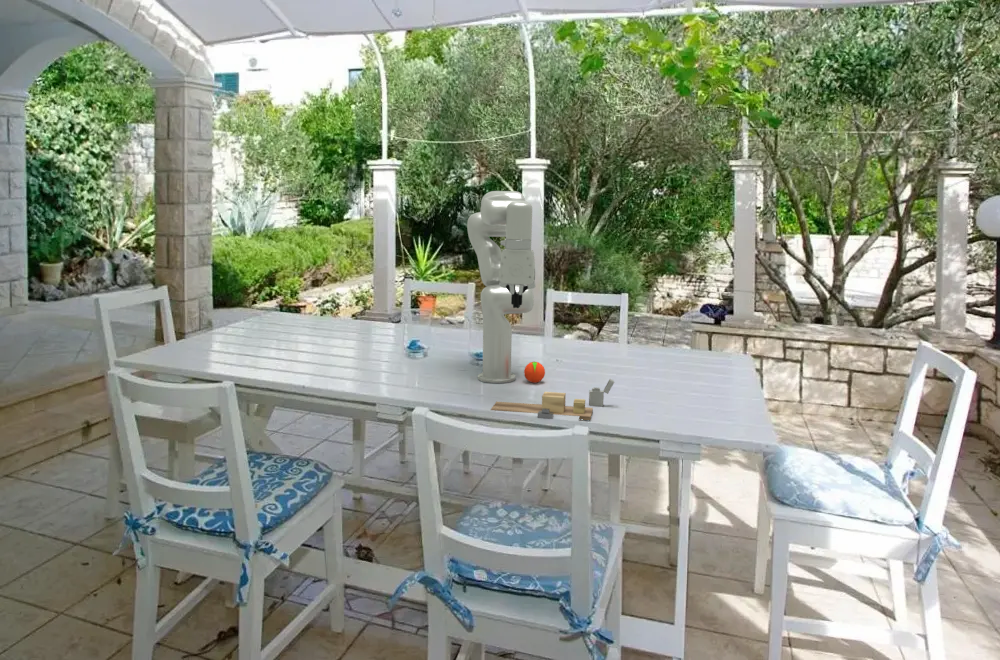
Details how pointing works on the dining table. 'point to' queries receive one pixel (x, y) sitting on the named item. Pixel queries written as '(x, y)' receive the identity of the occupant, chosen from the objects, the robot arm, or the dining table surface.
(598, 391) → the lighter
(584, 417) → the beam
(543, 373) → the clementine
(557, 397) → the block
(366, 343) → the dining table surface
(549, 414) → the fulcrum marker
